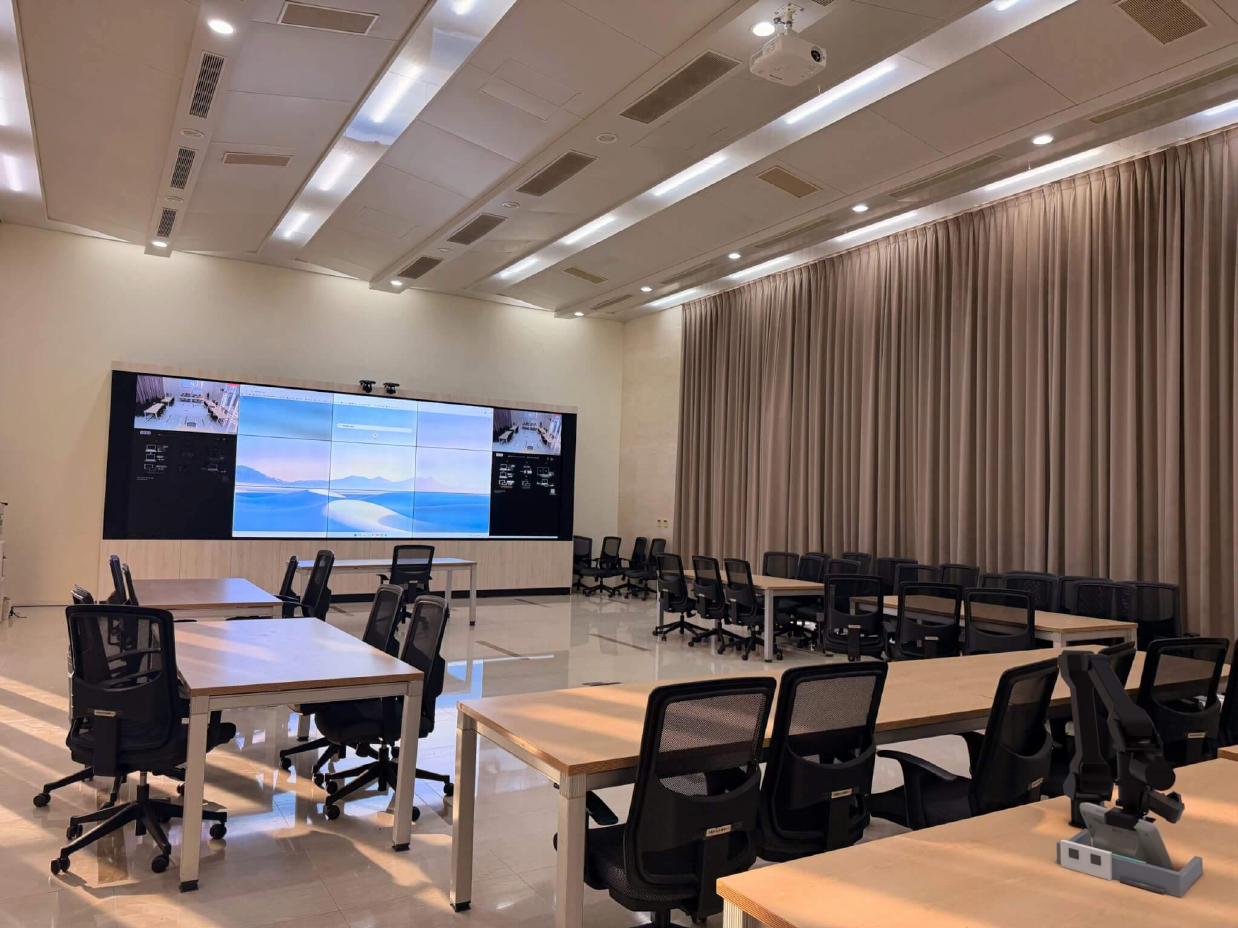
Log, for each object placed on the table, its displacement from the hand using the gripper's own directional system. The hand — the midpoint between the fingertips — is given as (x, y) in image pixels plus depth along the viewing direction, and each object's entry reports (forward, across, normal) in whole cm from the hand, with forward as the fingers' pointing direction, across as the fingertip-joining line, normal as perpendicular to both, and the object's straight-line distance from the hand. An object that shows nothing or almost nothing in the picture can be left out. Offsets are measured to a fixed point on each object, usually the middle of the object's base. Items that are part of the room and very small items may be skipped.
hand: (1136, 853), depth 172 cm
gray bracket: (+2, -6, 0) cm, 6 cm away
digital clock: (+1, -4, 0) cm, 4 cm away
